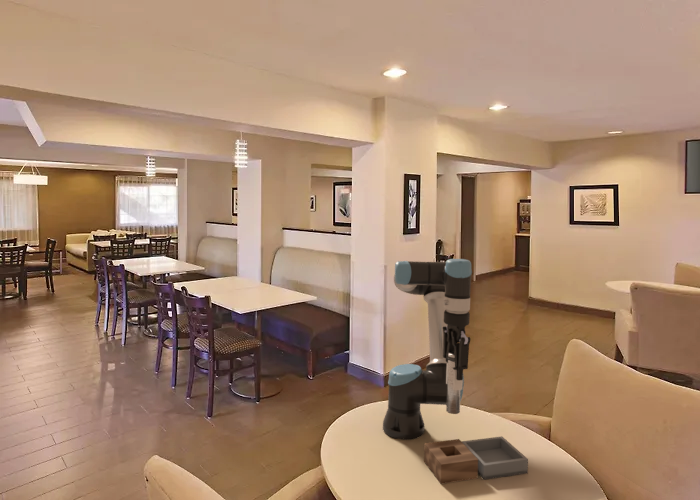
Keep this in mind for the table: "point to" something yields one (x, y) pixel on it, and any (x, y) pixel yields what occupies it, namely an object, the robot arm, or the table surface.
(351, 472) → the table surface
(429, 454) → the wooden square socket block
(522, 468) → the tray
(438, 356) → the robot arm
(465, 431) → the table surface
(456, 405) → the pin
